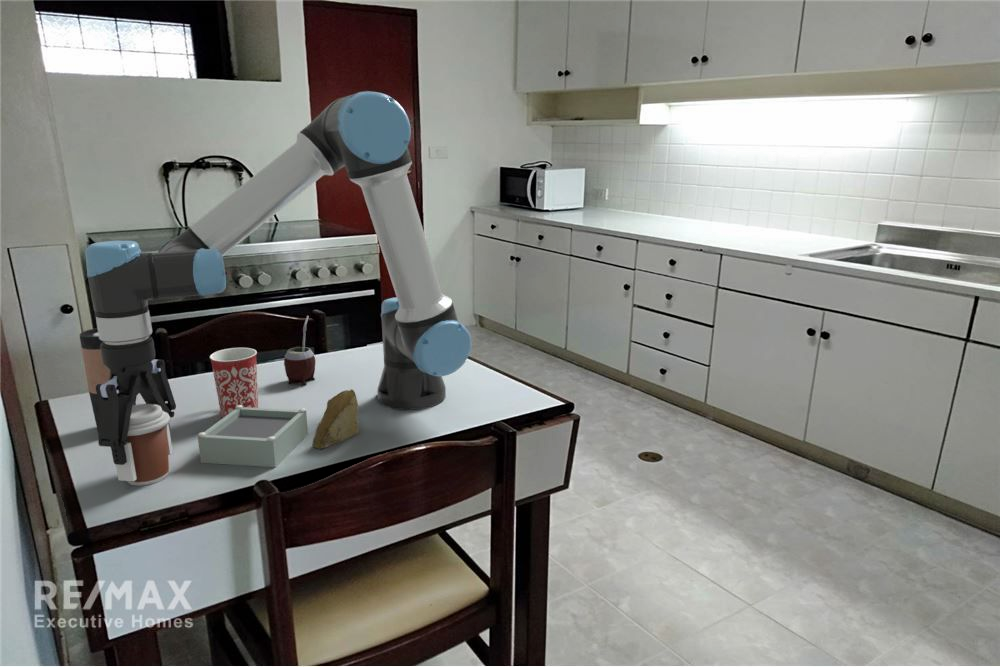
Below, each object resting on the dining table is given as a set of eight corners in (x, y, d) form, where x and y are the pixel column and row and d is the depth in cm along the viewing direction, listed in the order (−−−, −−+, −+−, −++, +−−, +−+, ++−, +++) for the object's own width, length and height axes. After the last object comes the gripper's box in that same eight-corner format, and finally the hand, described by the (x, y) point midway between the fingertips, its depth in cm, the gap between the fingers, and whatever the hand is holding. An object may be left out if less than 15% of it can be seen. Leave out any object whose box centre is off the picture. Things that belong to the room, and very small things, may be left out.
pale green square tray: (308, 434, 129) (306, 408, 127) (275, 467, 115) (273, 439, 114) (240, 430, 131) (237, 404, 129) (200, 462, 117) (196, 434, 116)
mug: (264, 419, 136) (258, 357, 132) (217, 426, 133) (209, 362, 129) (260, 398, 147) (254, 341, 144) (216, 404, 144) (209, 345, 140)
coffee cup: (186, 463, 117) (177, 400, 114) (163, 489, 108) (152, 421, 105) (134, 464, 117) (124, 401, 113) (106, 490, 108) (94, 422, 105)
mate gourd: (290, 388, 153) (284, 326, 149) (282, 379, 160) (276, 319, 156) (322, 383, 157) (317, 322, 153) (313, 374, 163) (308, 315, 159)
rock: (316, 446, 119) (369, 428, 123) (301, 402, 121) (353, 386, 125) (312, 458, 128) (361, 441, 132) (298, 418, 130) (347, 402, 134)
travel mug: (95, 438, 127) (76, 339, 122) (97, 424, 133) (80, 329, 128) (139, 431, 130) (124, 333, 125) (140, 417, 137) (125, 324, 131)
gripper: (148, 320, 117) (165, 437, 123) (52, 358, 96) (79, 496, 102) (187, 322, 116) (203, 440, 122) (99, 360, 95) (123, 500, 101)
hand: (146, 465), depth 112 cm, fingers closed on coffee cup, 9 cm apart
